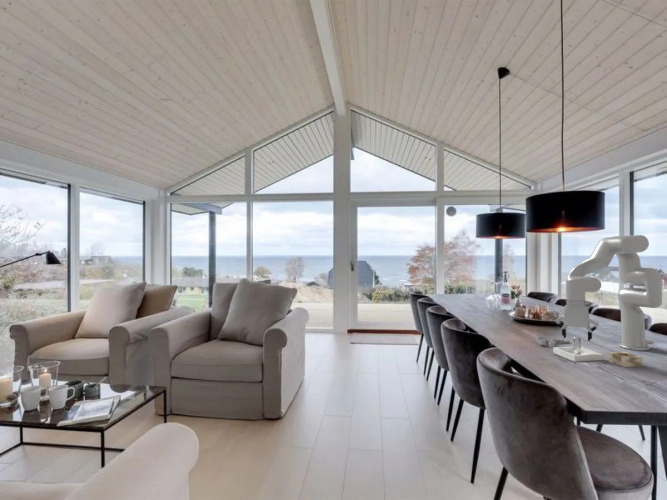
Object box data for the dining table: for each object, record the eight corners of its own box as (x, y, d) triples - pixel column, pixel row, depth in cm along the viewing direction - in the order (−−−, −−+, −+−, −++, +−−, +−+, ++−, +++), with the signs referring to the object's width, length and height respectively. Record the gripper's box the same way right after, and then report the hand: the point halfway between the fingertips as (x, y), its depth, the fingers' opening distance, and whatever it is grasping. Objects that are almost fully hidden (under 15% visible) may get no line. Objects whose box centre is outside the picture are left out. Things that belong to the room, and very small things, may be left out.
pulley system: (532, 350, 183) (566, 353, 173) (532, 341, 183) (565, 343, 174) (540, 341, 204) (570, 343, 195) (539, 333, 204) (569, 335, 195)
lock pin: (578, 355, 166) (577, 336, 167) (582, 356, 163) (582, 338, 164) (572, 355, 166) (571, 336, 166) (576, 357, 163) (576, 338, 163)
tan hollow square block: (625, 362, 157) (625, 351, 157) (642, 368, 149) (642, 356, 149) (609, 363, 156) (608, 352, 156) (625, 369, 148) (624, 357, 149)
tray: (579, 353, 172) (579, 346, 172) (603, 362, 158) (603, 354, 158) (553, 354, 171) (553, 347, 171) (574, 363, 157) (574, 355, 157)
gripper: (598, 303, 162) (600, 339, 162) (556, 301, 174) (556, 334, 174) (597, 305, 157) (598, 343, 156) (553, 302, 168) (554, 337, 168)
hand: (576, 338), depth 165 cm, fingers open, 9 cm apart
